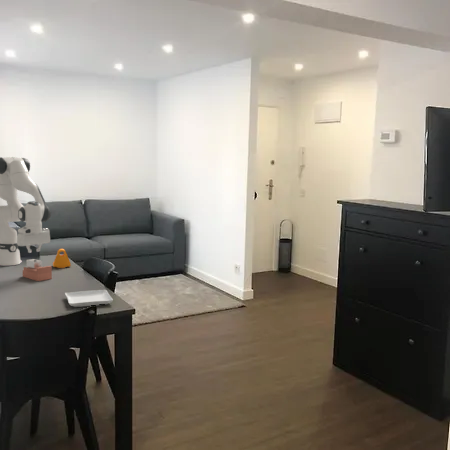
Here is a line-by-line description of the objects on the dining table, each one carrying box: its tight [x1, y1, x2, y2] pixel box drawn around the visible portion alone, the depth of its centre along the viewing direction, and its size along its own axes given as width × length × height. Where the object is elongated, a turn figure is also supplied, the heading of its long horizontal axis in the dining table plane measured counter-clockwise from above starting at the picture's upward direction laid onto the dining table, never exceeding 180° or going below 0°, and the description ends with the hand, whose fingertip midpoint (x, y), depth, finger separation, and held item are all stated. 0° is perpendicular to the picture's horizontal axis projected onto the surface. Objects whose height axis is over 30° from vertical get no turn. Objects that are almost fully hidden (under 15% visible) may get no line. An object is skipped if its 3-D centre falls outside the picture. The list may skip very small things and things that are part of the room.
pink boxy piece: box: [22, 265, 53, 282], centre depth 297 cm, size 16×9×8 cm, turn 53°
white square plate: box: [64, 289, 114, 308], centre depth 252 cm, size 21×21×3 cm
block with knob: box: [26, 258, 43, 270], centre depth 299 cm, size 8×5×6 cm, turn 53°
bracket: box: [52, 248, 71, 269], centre depth 330 cm, size 11×7×12 cm, turn 113°
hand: (34, 252), depth 298 cm, fingers open, 4 cm apart
